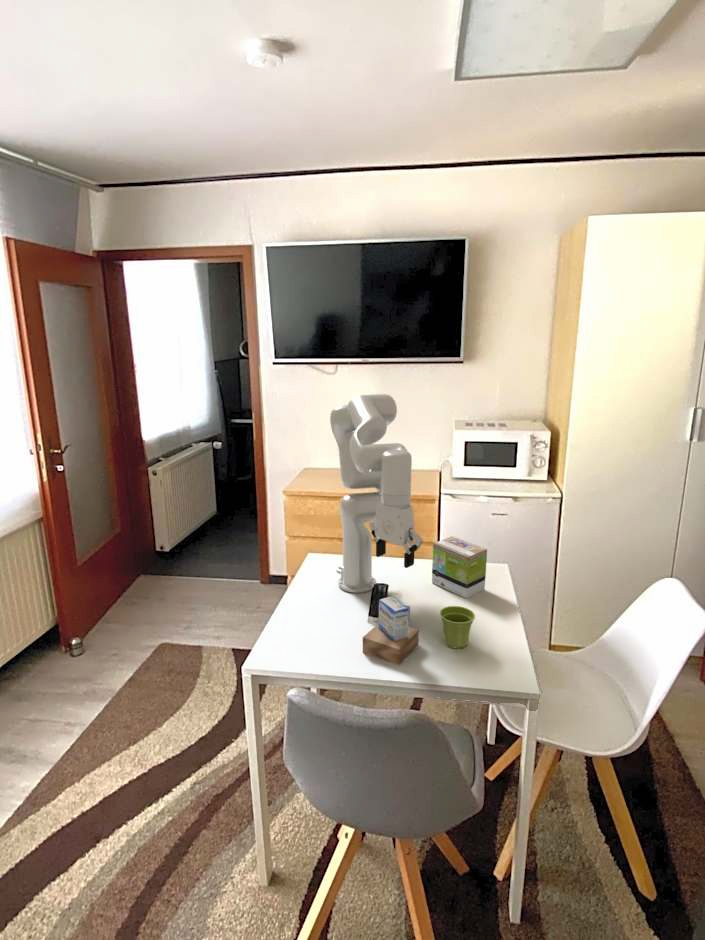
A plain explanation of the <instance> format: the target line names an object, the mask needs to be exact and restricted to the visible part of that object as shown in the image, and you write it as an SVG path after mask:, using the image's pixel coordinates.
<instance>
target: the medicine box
mask: <svg viewBox="0 0 705 940" xmlns="http://www.w3.org/2000/svg"><path fill="white" fill-rule="evenodd" d="M404 605H405V604H403V603H402V602H400V601H399V600H398V599H396V598H395V597H393V596H387V597H383V598H381V599H379V600H378V623H377V624H378V628H379V629H380V630H381V631H383V632H384V633H385V634H386V635H388V636H389V637H390V638H391V639H393V640H394V641H397V640H400V639H404V638H406V637H408V627H409V623H408V615H409V608H407V607H406V606H407V605H406V606H404Z"/></svg>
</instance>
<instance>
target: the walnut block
mask: <svg viewBox="0 0 705 940" xmlns="http://www.w3.org/2000/svg"><path fill="white" fill-rule="evenodd" d="M378 624H379V623H377V624H376V625H375V626H374V627H373V628H371V630H370V631H368V632H367V633H366V634H365V635H364V636H362V653H363V654H366V655H369V656H372V657H374V658H377V659H380V660H382V659H383V661H386V662H389V663H391V664H394V665H397V666H400V665H402V663H404V662H405V660H406V659H407V658H408V657H410V655H411V654H412V653H413V652H414V651H415V650H416V649H417V648H418V646H419V641H420V640H419V635H420V631H419V629H416V628H412V627H410V626H408V637H406V638H404V639H400V640H397V641H394V640H393V639H391V638H390V637H389V636H388V635H386V634H385V633H384V632H383V631H381V630H380V629H379V628H378Z"/></svg>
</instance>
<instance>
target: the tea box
mask: <svg viewBox="0 0 705 940" xmlns="http://www.w3.org/2000/svg"><path fill="white" fill-rule="evenodd" d="M487 557H488V548H485V547H482V546H480V545H477V544H473V543H471V542H468V541H466V540H463V539H461V538H458V537H455V536H450V537H447V538H444V539H441V540H438V541H437V542H433V544H432V562H431V563H432V564H431V565H432V570H431V582H432V584H435V585H436V586H439V587H441V588H443V589H445V590H448V591H450V592H452V593H454V594H456V595H457V596H460V597H462V598H464V599H468V598H471V597H473V596H475V595H476V594H478V592H479V593H481V592H482V591H485V586H486V575H487V561H488V560H487Z"/></svg>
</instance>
